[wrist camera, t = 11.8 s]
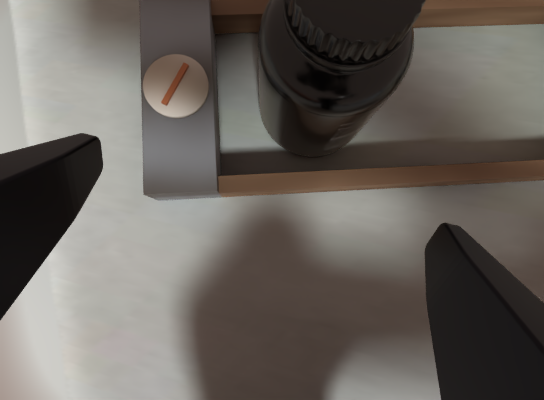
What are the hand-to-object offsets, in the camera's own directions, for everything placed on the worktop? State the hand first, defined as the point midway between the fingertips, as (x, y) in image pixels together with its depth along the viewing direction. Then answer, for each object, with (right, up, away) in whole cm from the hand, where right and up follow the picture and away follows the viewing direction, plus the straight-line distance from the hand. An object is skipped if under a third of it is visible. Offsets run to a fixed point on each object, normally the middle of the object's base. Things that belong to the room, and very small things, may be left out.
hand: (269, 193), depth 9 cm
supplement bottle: (+3, +6, +15) cm, 16 cm away
